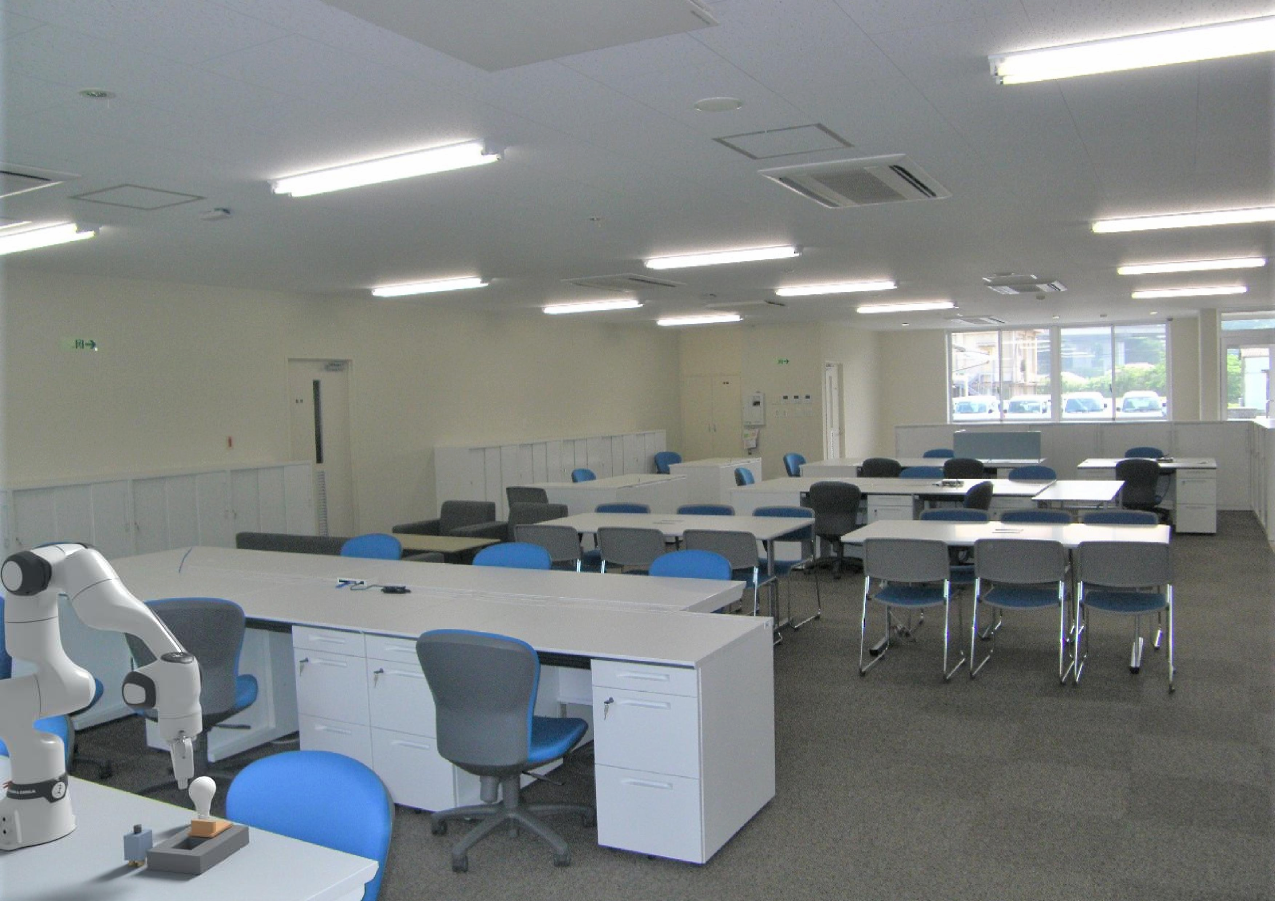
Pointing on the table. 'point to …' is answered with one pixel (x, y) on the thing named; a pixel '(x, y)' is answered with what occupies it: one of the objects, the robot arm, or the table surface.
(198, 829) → the panel
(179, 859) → the socket block
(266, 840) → the table surface
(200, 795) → the lightbulb
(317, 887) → the table surface
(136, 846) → the plug
